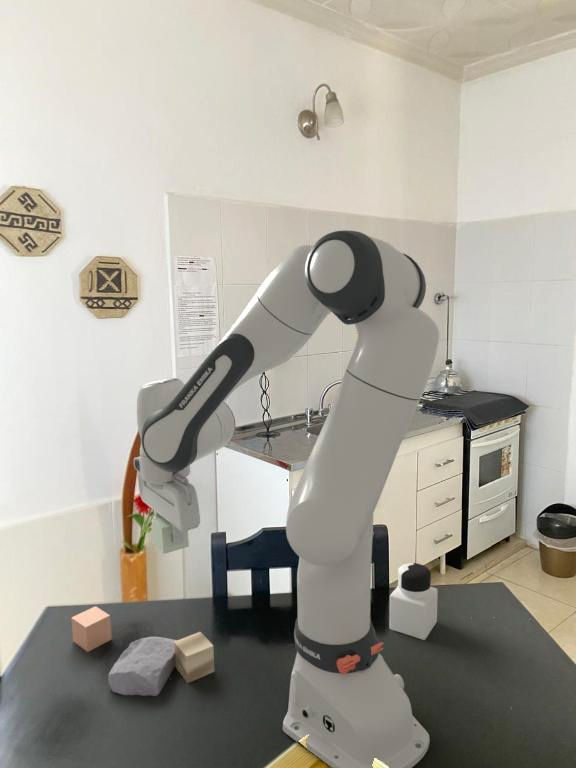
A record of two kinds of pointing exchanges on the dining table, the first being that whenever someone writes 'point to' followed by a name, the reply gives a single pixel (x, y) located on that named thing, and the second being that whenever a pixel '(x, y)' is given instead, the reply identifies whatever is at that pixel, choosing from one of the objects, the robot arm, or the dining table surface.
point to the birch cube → (194, 656)
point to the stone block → (143, 667)
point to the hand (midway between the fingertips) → (170, 537)
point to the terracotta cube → (91, 628)
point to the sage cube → (166, 536)
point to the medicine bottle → (413, 602)
